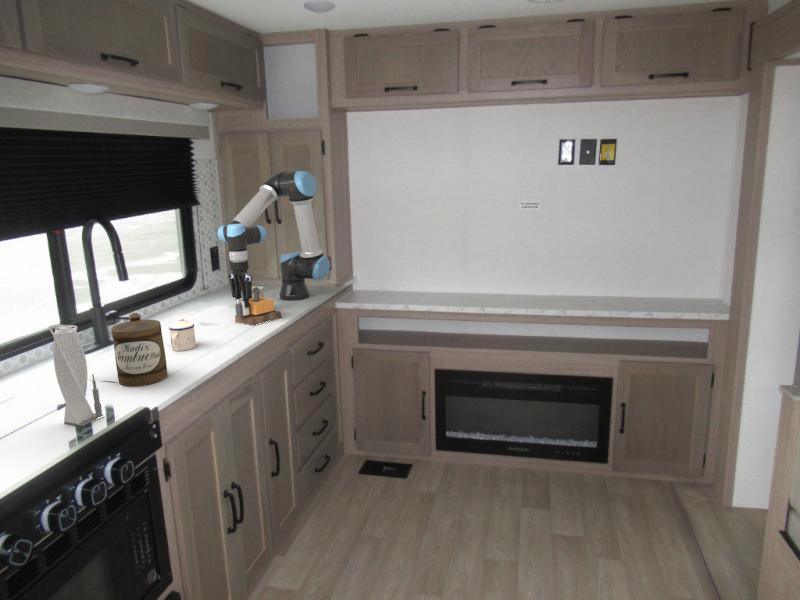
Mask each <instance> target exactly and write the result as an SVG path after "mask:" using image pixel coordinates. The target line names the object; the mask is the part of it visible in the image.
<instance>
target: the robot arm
mask: <svg viewBox="0 0 800 600" xmlns="http://www.w3.org/2000/svg"><path fill="white" fill-rule="evenodd" d="M316 189H317V181H316V179H315V177H314V176H313V174H311V172H309V171H305V170H292V171H291V170H290V171H279V172H277V173H275V174H273V175H272V176H270V177H269V178H268V179H266V180H265V181H264V182H263V183H262V184H261V186H259V191H258V192H257V193H256V194H255V195H254V196H253V197H252V198H251V200H249V202H248V203H247V204H246V205H245V206H244V207H243V208H242V209H241V210H240V212H238V214H237V215H236V216H235V217H234V218H233V219H232V220H231V221H230V222H229V223H228V224H227V225H226V224H225V225H221V226H219V228H218V230H217V237H218V239H219V241H220V242H221V243H227V245H228V256H229V261H230V262H229V266H230V270H231V271H232V273H231V274H228V280H229V283H230V290H231V297H232V298H234V299H235V301H236V303H235V304H240V303H242V306H243V315H244V316H245V315H248V314H249V299H252V287H253V285H252V284H253V283H252V282H253V276H250V275H249V274H248V270H249V267H250V266H249V261H248V259H249V256H248V245H254V244H255V245H256V244H261V243H263V242H265V241H266V240H267V230H266V227H263V226H262V225H254V226H253V224H254V223H255V222H256V221H257V219H258V218H259V217H260V216H261V215H262V214H263V212H264V211H265V210H266V209H267V208H268V207H269V206H270V205H271V203H272V202H276V201H277V200H278V199H280V197H288V201H289V203H291V204H292V205H293V210H294V215H295V221H296V227H297V230H298V231H297V232H298V235H299V242H300V245H301V246H300V247H301V251H296V252H291V253H290V252H289V253H285V254H282V255H281V256H280V258H279V259H280V261H279V263H280V264H279V265H280V272H281V273H280V274H281V287H280V290H279V291H280V292H279V299H280V300H284V301H297V300H298V301H299V300H304V299H307V298H310V292H309V291H310V290H309V289H308V286H307V284H306V279H309V280H323V279H325V278H326V277H327V276H328V274H329V272H330V269H331V262H330V259H329V257H327V256H326V255H324V251H323V249H321V248H320V243H319V239H318V234H317V227H316V222H315V218H314V211H313V205H312V201H313V199H314V195H315V194H316V192H317V190H316Z"/></svg>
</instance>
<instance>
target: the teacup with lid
mask: <svg viewBox="0 0 800 600" xmlns="http://www.w3.org/2000/svg"><path fill="white" fill-rule="evenodd" d="M168 329H169V334H170V341H171V349H172V350H173V351H175V352H183V351H189V350H193V349H195V348H196V346H197V344H196V343H197V342H196V332H195V323H194V322H191V321H188V320H186V319H185V317H179V318H177V320H176V321H174V323H171V324H169V325H168Z"/></svg>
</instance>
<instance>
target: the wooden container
mask: <svg viewBox="0 0 800 600" xmlns="http://www.w3.org/2000/svg"><path fill="white" fill-rule="evenodd" d="M128 319H129V320H128V321H124V322H121V323H118V324H116V325H113V326H112V327H111V331H110V332H111V336H112V341H113V348H114V356H115V359H114V360H115V367H116V372H117V380H118V383H119V384H120V385H122V386H125V387H142V386H147V385H152V384H155V383H158V382H161V381H162V380H164V379H166V378H167V377H168V368H167V357H166V352H165V345H164V339H163V337H164V336H163V331H162V325H161V322H160V320H156V319H146V318H145V319H141V314H140V313H138V312H132V313H131V314H130V315H129V316H128Z"/></svg>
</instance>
